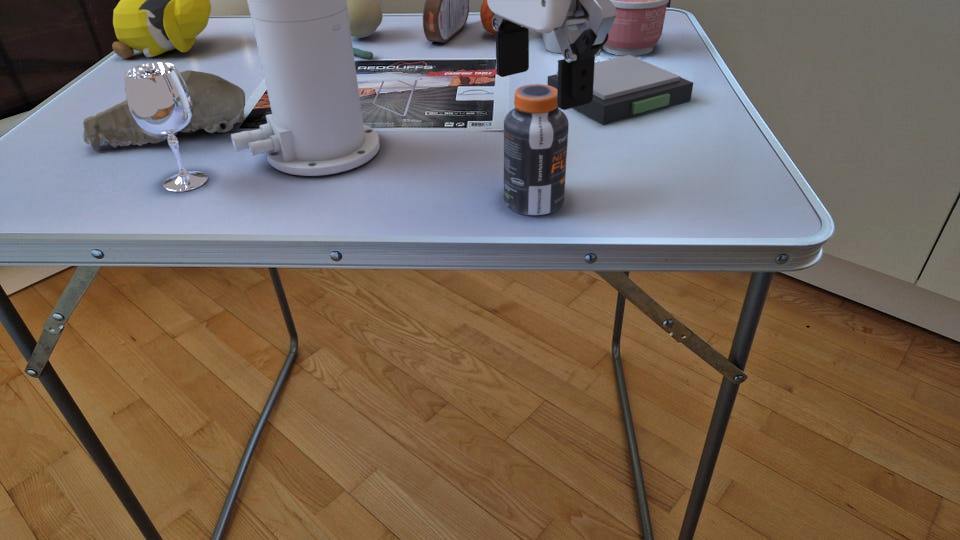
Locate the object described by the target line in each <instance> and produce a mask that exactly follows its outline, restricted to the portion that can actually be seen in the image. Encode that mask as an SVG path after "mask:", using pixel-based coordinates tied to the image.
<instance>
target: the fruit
mask: <svg viewBox="0 0 960 540" xmlns="http://www.w3.org/2000/svg"><path fill="white" fill-rule="evenodd" d="M479 13H480V14H479V16H480V22H481V25H482V27H483V28H484V30H485V31H487V33H489V34H490V35H492V37H493V36H494V37H495V32H499V30H498V31H495V30H494V28H493V26H492V18H493V16H494V15H493V13H492V11H491V9H490V8H489V6H488V3H487V0H482V3H481V6H480V12H479Z"/></svg>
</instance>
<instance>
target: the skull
mask: <svg viewBox="0 0 960 540" xmlns="http://www.w3.org/2000/svg"><path fill="white" fill-rule="evenodd" d="M179 72H180V74H181V76H182V78H183V80H184V82H185V84H186V86H187V88H188V90H189V93H190V95H191V98H192V102H193V116H192V119H191V121H190V123H189V124H188V125H187V126H186V127H185V128H183V129H182V130H180V131H179V132H181V133H191V131H192V132H197V131H198V130H204V131H205V132H207V133H210V134H214V133H223V134H225V133H228V132H230V131H231V130H232V129H234V125H236V124H242V123H243V120H244V116H245V106H246V92H245V91H244V89H243V88H241V87H240V86H239V85H236V84H234V83H232V82H231V81H229V80H227V79H225V78H223V77H221V76H220V75H216V74H213V73H209V72H203V71H197V70H188V69H187V70H184V71H179ZM82 125H83V134H82V135H83V136H82V138H83V142H84V143H85V144H87V145H90V146H91V148H92V149H93V151H95V152H97V151H100V148H101V144H102V143H103V142H106V143H108V144H109V145H110V146H111V147H113V148H117V147H118V146H120V147H125V146H127V147H129V146H131V145H133V146H135V145H137V146H140V147H142V146H143V145H146V144H148V143H150V144H158V143H159V144H160V143H161V142H164V141H165V140H167V138H168V135H159V134H153V133H150V132H147V131H145V130H144V129H142V128H141V127H140V126H139V125H138V124H137V123H136V122H135V120H134V118H133V117H132V115H131V112H130V110H129V106H128V103H127V99H125V100H124V101H121V102H119V103H117V104H115V105H113V106H111V107H108V108H107V109H105V110H104V111H101V112H98V113H96V114H95V115H91V116H89V117H86V118H85V119H84V120H83V122H82ZM177 134H178V132H176V133H174V135H175V136H177Z"/></svg>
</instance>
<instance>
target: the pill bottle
mask: <svg viewBox="0 0 960 540" xmlns="http://www.w3.org/2000/svg"><path fill="white" fill-rule="evenodd" d="M513 99H514V101H513V105H514V108H513V109H511V110H510V111H508V113H506V115H505V117H504V120H503V201H504V204H505V206H507V208H509V209H510V210H512V211H513V212H514V213H518V214H522V215H526V216H544V215H548V214H551V213H554V212H555V211H557V210H559V209H560V208H561V207H562V206H563V204H564V203H565V193H566V175H567V174H566V173H567V157H568V156H567V155H568V144H569V143H568V141H569V127H570V126H569V125H570V122H569V118H568V117H567V115H566V113H565V112H563V111H562V109H560V108H559V107H558V106H557V89H556V88H554V87H552V86H549V85H547V84H541V83H533V84H531V83H530V84H525V85H522V86H519V87H517V88H516V89H515V91H514V98H513Z"/></svg>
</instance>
